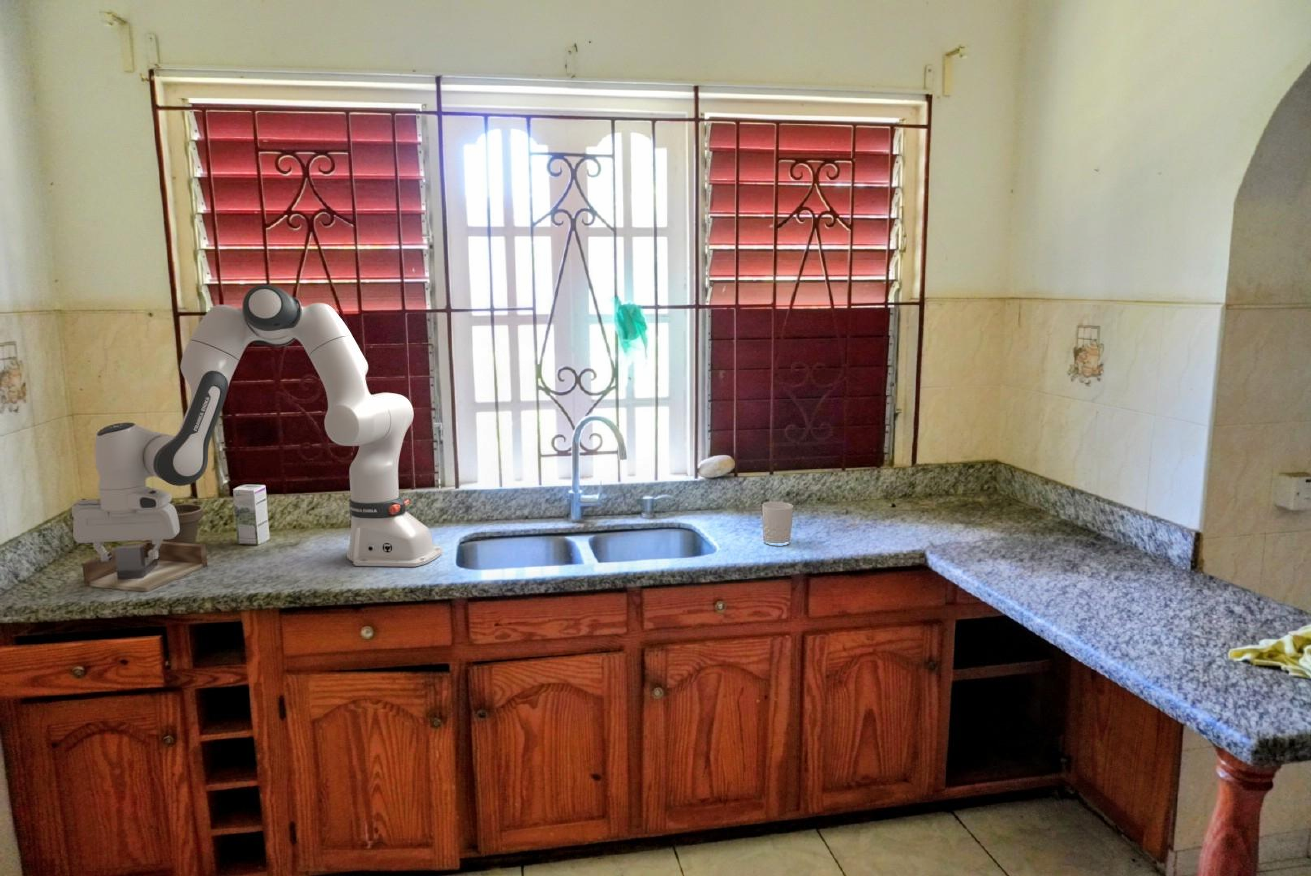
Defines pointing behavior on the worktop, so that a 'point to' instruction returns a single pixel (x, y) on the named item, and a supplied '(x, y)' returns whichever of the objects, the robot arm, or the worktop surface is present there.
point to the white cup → (777, 521)
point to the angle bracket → (133, 562)
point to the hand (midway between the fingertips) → (130, 559)
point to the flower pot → (187, 523)
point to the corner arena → (170, 567)
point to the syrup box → (251, 514)
